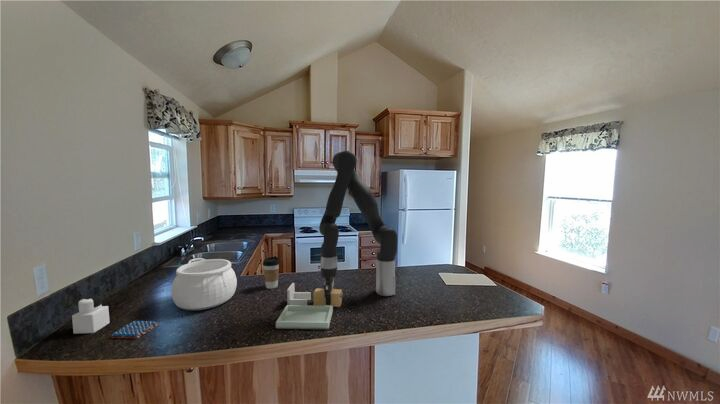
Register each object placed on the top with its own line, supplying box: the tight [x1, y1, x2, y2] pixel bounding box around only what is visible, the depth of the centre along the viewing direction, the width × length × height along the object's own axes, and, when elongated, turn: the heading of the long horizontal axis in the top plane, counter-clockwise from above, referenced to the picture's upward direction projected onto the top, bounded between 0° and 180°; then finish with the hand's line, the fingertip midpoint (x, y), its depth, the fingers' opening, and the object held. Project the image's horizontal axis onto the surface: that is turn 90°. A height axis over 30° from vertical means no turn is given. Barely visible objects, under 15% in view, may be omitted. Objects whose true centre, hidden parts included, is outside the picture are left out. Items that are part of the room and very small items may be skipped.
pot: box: [170, 257, 238, 311], centre depth 125 cm, size 29×26×17 cm
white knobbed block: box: [71, 295, 110, 335], centre depth 101 cm, size 7×7×12 cm
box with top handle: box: [312, 288, 344, 308], centre depth 122 cm, size 13×5×6 cm, turn 85°
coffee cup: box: [262, 256, 280, 290], centre depth 142 cm, size 8×8×15 cm
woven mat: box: [110, 319, 159, 340], centre depth 100 cm, size 10×11×2 cm
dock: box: [286, 282, 312, 305], centre depth 122 cm, size 9×8×8 cm
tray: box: [275, 304, 334, 330], centre depth 108 cm, size 20×14×2 cm
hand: (329, 301), depth 122 cm, fingers closed on box with top handle, 5 cm apart
